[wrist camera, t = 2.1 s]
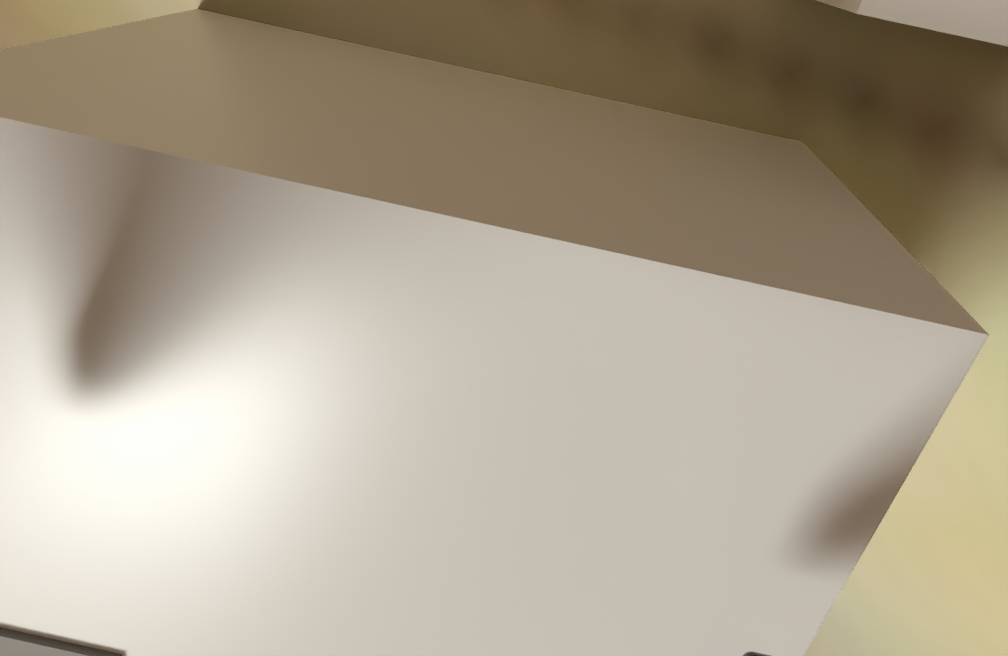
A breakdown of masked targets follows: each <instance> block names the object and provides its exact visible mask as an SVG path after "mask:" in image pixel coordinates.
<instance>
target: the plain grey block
mask: <svg viewBox="0 0 1008 656" xmlns="http://www.w3.org/2000/svg"><path fill="white" fill-rule="evenodd" d="M988 336H989V334H988V333H987V332H986V331H985V330H984V329H983V328H982V327H981V326H980V325H979V324H978V323H977V322H976V321H975V320H974V319H973V318H972V317H971V316H970V315H969V314H968V313H967V312H966V310H965V309H964V308H963V307H962V306H961V305H960V304H959V303H958V302H957V301H956V300H955V299H954V298H953V297H952V296H951V295H950V294H949V293H948V292H947V291H946V290H945V289H944V288H943V287H942V286H941V285H940V284H939V283H938V282H937V280H936V279H935V278H934V277H933V276H932V275H931V274H930V273H929V272H928V271H927V270H926V269H925V268H924V267H923V266H922V265H921V264H920V263H919V262H918V261H917V260H916V259H915V258H914V257H913V256H912V255H911V254H910V253H909V251H908V250H907V249H906V248H905V247H904V246H903V245H902V244H901V243H900V242H899V241H898V240H897V239H896V238H895V237H894V236H893V235H892V234H891V233H890V232H889V231H888V230H887V229H886V228H885V227H884V226H883V225H882V224H881V223H880V221H879V220H878V219H877V218H876V217H875V216H874V215H873V214H872V213H871V212H870V211H869V210H868V209H867V208H866V207H865V206H864V205H863V204H862V203H861V202H860V201H859V200H858V199H857V198H856V197H855V196H854V195H853V194H852V193H851V191H850V190H849V189H848V188H847V187H846V186H845V185H844V184H843V183H842V182H841V181H840V180H839V179H838V178H837V177H836V176H835V175H834V174H833V173H832V172H831V171H830V170H829V169H828V168H827V167H826V166H825V165H824V164H823V162H822V161H821V160H820V159H819V158H818V157H817V156H816V155H815V154H814V153H813V152H812V151H811V150H810V149H809V148H808V147H807V146H806V145H805V144H804V143H803V142H801V141H797V140H792V139H787V138H783V137H778V136H774V135H769V134H765V133H760V132H756V131H751V130H747V129H742V128H737V127H733V126H728V125H724V124H719V123H715V122H710V121H706V120H701V119H696V118H692V117H687V116H683V115H678V114H674V113H669V112H665V111H660V110H656V109H651V108H646V107H642V106H637V105H633V104H628V103H624V102H619V101H615V100H610V99H606V98H601V97H596V96H592V95H587V94H583V93H578V92H574V91H569V90H565V89H560V88H556V87H551V86H546V85H542V84H537V83H533V82H528V81H524V80H519V79H515V78H510V77H506V76H501V75H496V74H492V73H487V72H483V71H478V70H474V69H469V68H465V67H460V66H455V65H451V64H446V63H442V62H437V61H433V60H428V59H424V58H419V57H415V56H410V55H405V54H401V53H396V52H392V51H387V50H383V49H378V48H374V47H369V46H365V45H360V44H355V43H351V42H346V41H342V40H337V39H333V38H328V37H324V36H319V35H315V34H310V33H305V32H301V31H296V30H292V29H287V28H283V27H278V26H274V25H269V24H265V23H260V22H255V21H251V20H246V19H242V18H237V17H233V16H228V15H224V14H219V13H214V12H210V11H205V10H201V9H194V10H189V11H184V12H179V13H174V14H170V15H165V16H160V17H155V18H150V19H146V20H141V21H136V22H131V23H126V24H121V25H117V26H112V27H107V28H102V29H97V30H92V31H88V32H83V33H78V34H73V35H68V36H64V37H59V38H54V39H49V40H44V41H39V42H35V43H30V44H25V45H20V46H15V47H11V48H6V49H1V50H0V621H3V622H8V623H12V624H17V625H21V626H26V627H30V628H35V629H39V630H44V631H48V632H53V633H57V634H62V635H67V636H71V637H76V638H80V639H85V640H89V641H94V642H98V643H103V644H107V645H112V646H116V647H121V648H125V649H130V650H134V651H139V652H143V653H148V654H152V655H157V656H743V655H744V654H745V653H746V652H750V651H753V652H757V653H762V654H766V655H771V656H803V655H804V653H805V652H806V650H807V648H808V647H809V645H810V643H811V641H812V640H813V638H814V636H815V634H816V633H817V631H818V629H819V628H820V626H821V624H822V622H823V621H824V619H825V617H826V616H827V614H828V612H829V610H830V609H831V607H832V605H833V603H834V602H835V600H836V598H837V597H838V595H839V593H840V591H841V590H842V588H843V586H844V584H845V583H846V581H847V579H848V578H849V576H850V574H851V572H852V571H853V569H854V567H855V565H856V564H857V562H858V560H859V559H860V557H861V555H862V553H863V552H864V550H865V548H866V546H867V545H868V543H869V541H870V540H871V538H872V536H873V534H874V533H875V531H876V529H877V528H878V526H879V524H880V522H881V521H882V519H883V517H884V515H885V514H886V512H887V510H888V509H889V507H890V505H891V503H892V502H893V500H894V498H895V496H896V495H897V493H898V491H899V490H900V488H901V486H902V484H903V483H904V481H905V479H906V477H907V476H908V474H909V472H910V471H911V469H912V467H913V465H914V464H915V462H916V460H917V458H918V457H919V455H920V453H921V452H922V450H923V448H924V446H925V445H926V443H927V441H928V440H929V438H930V436H931V434H932V433H933V431H934V429H935V427H936V426H937V424H938V422H939V421H940V419H941V417H942V415H943V414H944V412H945V410H946V408H947V407H948V405H949V403H950V402H951V400H952V398H953V396H954V395H955V393H956V391H957V389H958V388H959V386H960V384H961V383H962V381H963V379H964V377H965V376H966V374H967V372H968V370H969V369H970V367H971V365H972V364H973V362H974V360H975V358H976V357H977V355H978V353H979V352H980V350H981V348H982V346H983V345H984V343H985V341H986V339H987V338H988Z"/></svg>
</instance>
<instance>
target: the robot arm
mask: <svg viewBox="0 0 1008 656" xmlns="http://www.w3.org/2000/svg"><path fill="white" fill-rule="evenodd" d="M743 656H771V655H766V654H762V653H757V652H753V651H750V652H746V653H745V654H744V655H743Z"/></svg>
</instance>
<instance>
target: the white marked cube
mask: <svg viewBox="0 0 1008 656" xmlns="http://www.w3.org/2000/svg"><path fill="white" fill-rule="evenodd" d="M816 1H819V2H822V3H825V4H828V5H831V6H834V7H837V8H841V9H844V10H847V11H850V12H853V13H856V14H860V15H865V16H869V17H874V18H879V19H883V20H888V21H892V22H897V23H902V24H906V25H911V26H916V27H920V28H925V29H929V30H934V31H939V32H943V33H948V34H952V35H957V36H962V37H966V38H971V39H976V40H980V41H985V42H989V43H994V44H999V45H1003V46H1008V0H816Z"/></svg>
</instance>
